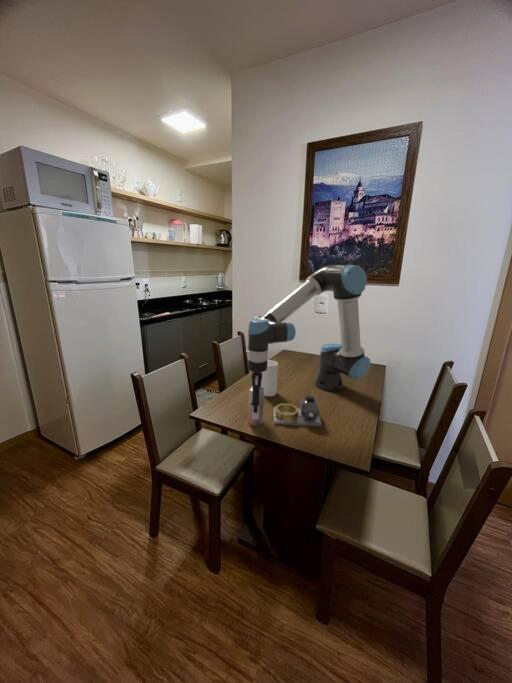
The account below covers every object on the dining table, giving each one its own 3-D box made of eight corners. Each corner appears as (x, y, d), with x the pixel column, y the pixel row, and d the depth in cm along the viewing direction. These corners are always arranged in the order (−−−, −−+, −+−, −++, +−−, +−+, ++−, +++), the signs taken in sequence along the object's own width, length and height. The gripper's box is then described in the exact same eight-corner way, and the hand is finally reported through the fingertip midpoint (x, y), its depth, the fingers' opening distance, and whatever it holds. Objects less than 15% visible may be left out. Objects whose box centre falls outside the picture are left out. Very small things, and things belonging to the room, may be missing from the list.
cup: (278, 391, 142) (280, 361, 138) (272, 397, 135) (274, 366, 130) (263, 388, 145) (265, 359, 141) (257, 394, 138) (258, 364, 134)
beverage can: (247, 418, 116) (248, 385, 112) (262, 418, 116) (263, 385, 112) (248, 426, 110) (249, 391, 106) (263, 426, 110) (265, 391, 106)
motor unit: (316, 412, 122) (318, 391, 119) (321, 427, 111) (323, 404, 108) (273, 410, 123) (274, 389, 120) (274, 425, 111) (275, 402, 109)
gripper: (249, 350, 117) (248, 399, 123) (245, 369, 95) (244, 427, 101) (267, 351, 116) (265, 400, 122) (267, 370, 95) (264, 428, 101)
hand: (255, 412), depth 112 cm, fingers open, 9 cm apart
